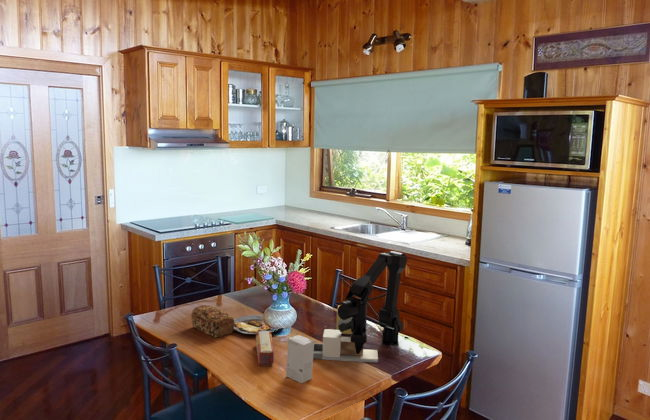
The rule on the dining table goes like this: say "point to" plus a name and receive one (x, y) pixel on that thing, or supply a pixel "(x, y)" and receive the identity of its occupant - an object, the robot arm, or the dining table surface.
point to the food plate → (248, 329)
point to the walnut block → (348, 347)
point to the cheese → (338, 327)
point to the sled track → (332, 349)
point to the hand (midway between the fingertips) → (357, 351)
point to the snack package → (264, 348)
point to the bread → (212, 321)
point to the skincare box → (300, 358)
